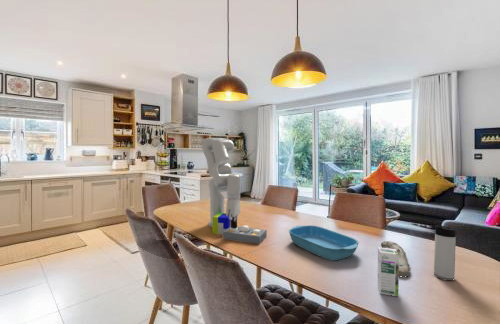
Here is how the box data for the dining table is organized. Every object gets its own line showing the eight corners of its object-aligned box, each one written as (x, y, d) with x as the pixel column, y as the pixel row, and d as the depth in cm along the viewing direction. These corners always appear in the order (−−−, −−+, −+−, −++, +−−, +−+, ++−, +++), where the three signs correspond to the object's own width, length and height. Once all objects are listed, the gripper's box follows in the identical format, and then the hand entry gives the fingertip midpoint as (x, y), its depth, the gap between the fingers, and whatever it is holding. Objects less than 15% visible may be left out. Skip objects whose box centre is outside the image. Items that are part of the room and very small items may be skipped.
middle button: (242, 231, 142) (242, 225, 142) (249, 231, 141) (249, 225, 141) (239, 233, 138) (239, 227, 138) (247, 234, 137) (247, 228, 137)
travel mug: (429, 273, 98) (430, 224, 98) (444, 272, 99) (445, 223, 98) (442, 281, 92) (444, 228, 91) (458, 280, 93) (460, 228, 92)
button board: (231, 232, 149) (231, 225, 149) (266, 236, 141) (266, 229, 141) (222, 238, 138) (222, 231, 138) (259, 244, 130) (259, 236, 130)
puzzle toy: (228, 234, 145) (228, 217, 145) (212, 233, 147) (212, 217, 147) (233, 229, 155) (233, 213, 155) (218, 228, 157) (218, 213, 157)
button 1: (231, 232, 145) (231, 226, 145) (238, 232, 143) (238, 227, 143) (228, 234, 141) (228, 228, 141) (235, 235, 139) (235, 229, 139)
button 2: (254, 234, 140) (254, 228, 140) (261, 235, 138) (261, 229, 138) (251, 237, 136) (251, 231, 136) (258, 238, 134) (258, 232, 134)
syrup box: (379, 294, 84) (380, 252, 83) (377, 285, 89) (377, 246, 89) (398, 297, 82) (399, 254, 81) (395, 288, 87) (395, 248, 87)
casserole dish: (368, 256, 115) (368, 241, 115) (337, 268, 103) (337, 251, 103) (309, 234, 146) (310, 222, 146) (281, 241, 134) (281, 229, 134)
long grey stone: (385, 278, 97) (414, 285, 93) (386, 266, 97) (416, 272, 93) (378, 244, 129) (400, 248, 125) (379, 234, 129) (401, 238, 125)
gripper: (233, 194, 150) (233, 223, 150) (221, 198, 136) (222, 230, 136) (244, 194, 147) (244, 225, 147) (234, 198, 133) (234, 232, 133)
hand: (233, 227), depth 142 cm, fingers closed
